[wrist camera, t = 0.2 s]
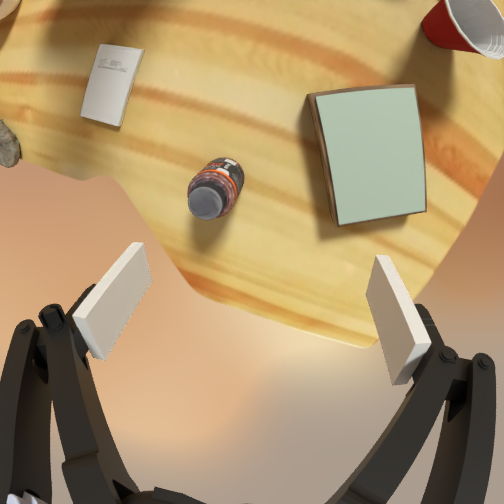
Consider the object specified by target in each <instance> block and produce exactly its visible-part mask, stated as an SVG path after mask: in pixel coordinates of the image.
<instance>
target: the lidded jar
mask: <svg viewBox="0 0 504 504" xmlns="http://www.w3.org/2000/svg"><path fill="white" fill-rule="evenodd" d="M20 1H21V0H0V20H1V19H3V18H5V17H6V16H8V15H9V14H10V13H12V12H13V11H14V10H15V9H16V8H17V6H18V5H19V3H20Z"/></svg>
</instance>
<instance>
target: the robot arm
mask: <svg viewBox="0 0 504 504" xmlns="http://www.w3.org/2000/svg"><path fill="white" fill-rule="evenodd" d="M151 282H152V279H151V274H150V269H149V265H148V260H147V255H146V250H145V245H144V243H139V242H133V243H132V244H131V245H130V246H129V247H128V248H127V249H126V251H125V252H124V253H123V254H122V255H121V257H119V259H118V260H117V261H116V262H115V263H114V264H113V265H112V267H111V268H110V269H109V270H108V271H107V273H106V274H105V275H104V276H103V278H102V279H101V280H100V281H99V282H98V283H97V284H93V285H91V286H90V287H89V288H87V289H86V290H85V291H84V292H83V294H82V295H81V296H80V297H79V298H78V300H77V302H75V303H74V305H73V306H72V307H71V308H70V310H69V311H68V312H67V314H66V315H65V314H64V312H63V309H62V307H61V306H60V305H59V304H50V305H48V306H45V307H44V308H43V309H42V310H41V311H40V313H39V316H38V317H39V319H40V321H41V323H42V325H43V327H36V325H35V323H34V321H32V320H30V319H27V320H24V321H22V322H20V323H19V324H18V325H17V326H16V328H15V331H14V334H13V337H12V340H11V343H10V347H9V350H8V353H7V357H6V360H5V364H4V368H3V372H2V376H1V381H0V504H52V482H51V466H50V420H51V403H52V401H53V407H54V412H55V417H56V422H57V427H58V431H59V436H60V440H61V444H62V447H63V451H64V455H65V462H63V463H62V471H63V475H64V478H65V481H66V484H67V487H68V490H69V493H70V496H71V499H72V501H73V504H206V503H203V502H201V501H198V500H196V499H194V498H192V497H189V496H187V495H185V494H183V493H178V492H174V491H170V490H166V489H162V488H158V487H155V488H154V491H143V492H140V491H139V489H138V487H137V486H136V484H135V483H134V481H133V480H132V479H131V477H130V476H129V474H128V473H127V471H126V468H125V466H124V464H123V462H122V459H121V457H120V455H119V452H118V450H117V448H116V445H115V443H114V440H113V438H112V435H111V433H110V430H109V427H108V424H107V422H106V419H105V416H104V413H103V410H102V407H101V404H100V401H99V398H98V395H97V391H96V388H95V384H94V381H93V377H92V374H91V370H90V366H89V362H88V359H87V357H86V353H87V351H88V350H89V351H90V353H91V355H92V356H93V358H97V359H100V360H104V361H106V359H107V357H108V355H109V353H110V352H111V350H112V348H113V346H114V344H115V343H116V341H117V339H118V337H119V336H120V334H121V332H122V331H123V329H124V327H125V325H126V324H127V322H128V320H129V318H130V317H131V315H132V314H133V312H134V310H135V309H136V307H137V305H138V304H139V302H140V300H141V299H142V297H143V295H144V294H145V292H146V291H147V289H148V287H149V286H150V284H151ZM366 297H367V300H368V303H369V306H370V309H371V312H372V315H373V319H374V322H375V325H376V328H377V332H378V335H379V338H380V341H381V345H382V349H383V352H384V356H385V360H386V363H387V367H388V371H389V375H390V379H391V383H392V385H401V384H407V383H408V381H409V380H410V378H411V377H413V380H414V384H413V385H412V387H411V388H410V390H409V391H408V393H407V394H406V397H405V399H404V401H403V403H402V404H401V406H400V407H399V409H398V411H397V412H396V414H395V415H394V417H393V418H392V420H391V422H390V423H389V425H388V426H387V428H386V429H385V431H384V432H383V433H382V435H381V436H380V438H379V439H378V441H377V442H376V443H375V445H374V446H373V448H372V449H371V450H370V452H369V453H368V454H367V456H366V457H365V458H364V459H363V461H362V462H361V463H360V464H359V466H358V467H357V468H356V469H355V471H354V472H353V473H352V474H351V475H350V477H349V478H348V479H347V480H346V482H345V483H344V484H343V485H342V486H341V487H340V488H339V489H338V491H337V492H336V493H335V494H334V495H333V496H332V497H331V498H330V499H329V500H328V501H327V502H326V503H325V504H386V503H387V501H388V500H389V499H390V497H391V496H392V494H393V493H394V491H395V490H396V489H397V487H398V486H399V484H400V483H401V481H402V479H403V478H404V476H405V475H406V473H407V472H408V470H409V469H410V467H411V465H412V464H413V462H414V460H415V458H416V457H417V455H418V453H419V452H420V450H421V448H422V446H423V444H424V442H425V440H426V439H427V437H428V435H429V433H430V430H431V429H432V427H433V425H434V423H435V421H436V418H437V416H438V414H439V412H440V410H441V407H442V405H443V403H444V401H445V400H446V404H445V411H444V417H443V422H442V428H441V433H440V438H439V442H438V447H437V451H436V455H435V459H434V463H433V467H432V470H431V473H430V477H429V480H428V483H427V487H426V489H425V493H424V495H423V499H422V501H421V504H484V500H485V495H486V491H487V486H488V481H489V476H490V470H491V463H492V456H493V448H494V447H493V446H494V437H495V421H496V375H495V364H494V362H493V360H492V358H490V357H489V356H488V355H487V354H484V353H478V354H476V355H475V356H474V357H473V359H472V360H468V359H463V358H459V357H458V354H457V353H456V352H455V351H454V350H453V349H452V348H450V347H448V346H445V345H444V342H443V340H442V338H441V336H440V334H439V332H438V330H437V328H436V326H435V324H434V322H433V320H432V318H431V316H430V314H429V312H428V310H427V309H426V308H425V307H424V306H423V305H422V304H414V303H413V301H412V299H411V297H410V295H409V293H408V291H407V289H406V287H405V286H404V284H403V282H402V280H401V278H400V276H399V274H398V272H397V270H396V269H395V267H394V265H393V263H392V261H391V260H390V258H389V256H388V255H376V257H375V261H374V265H373V269H372V273H371V277H370V280H369V284H368V288H367V291H366Z"/></svg>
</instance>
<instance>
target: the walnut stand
mask: <svg viewBox="0 0 504 504" xmlns="http://www.w3.org/2000/svg"><path fill="white" fill-rule="evenodd" d="M307 96H308V100H309V104H310V109H311V113H312V117H313V122H314V126H315V131H316V135H317V140H318V145H319V150H320V155H321V160H322V165H323V171H324V176H325V182H326V188H327V194H328V200H329V206H330V213H331V216H332V219H333V222H334V225H335V227H340V226H346V225H351V224H357V223H363V222H369V221H375V220H381V219H387V218H393V217H398V216H404V215H410V214H416V213H423V212H427V199H426V169H425V154H424V143H423V133H422V125H421V117H420V110H419V104H418V98H417V92H416V87H415V84H396V85H379V86H366V87H356V88H346V89H338V90H331V91H324V92H317V93H311V94H307Z"/></svg>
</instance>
